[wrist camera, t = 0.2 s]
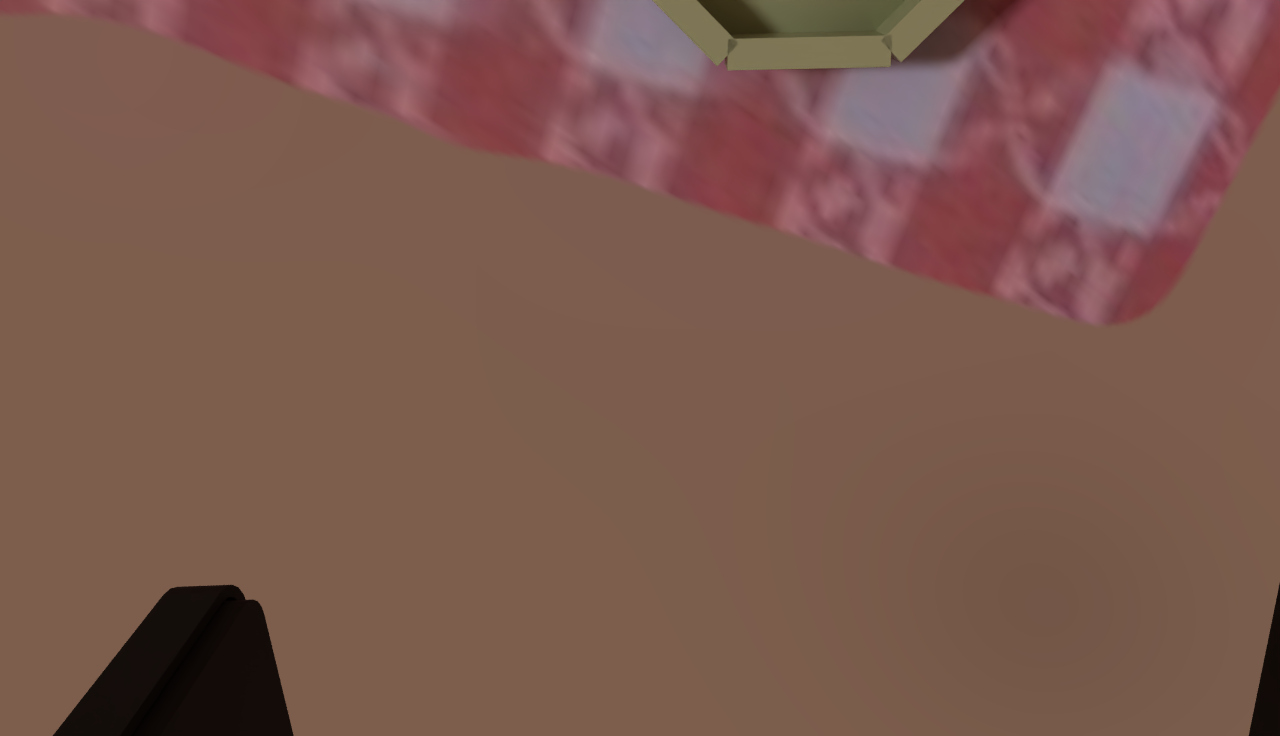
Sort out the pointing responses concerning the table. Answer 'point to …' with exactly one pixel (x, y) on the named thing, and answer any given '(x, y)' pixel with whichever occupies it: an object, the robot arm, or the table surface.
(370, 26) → the table surface
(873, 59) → the dish
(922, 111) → the table surface
